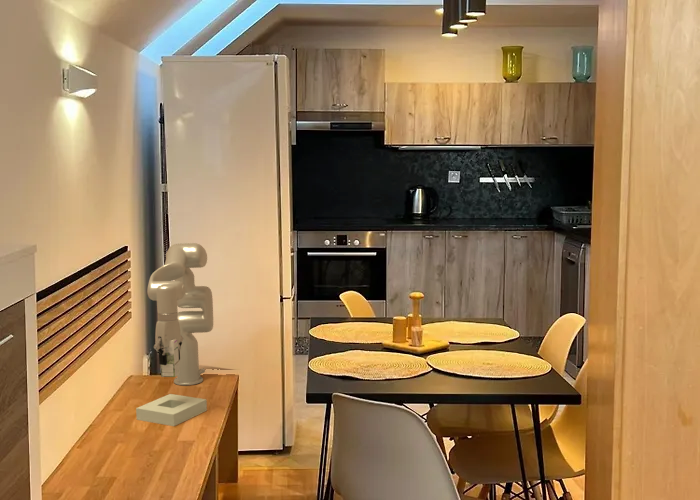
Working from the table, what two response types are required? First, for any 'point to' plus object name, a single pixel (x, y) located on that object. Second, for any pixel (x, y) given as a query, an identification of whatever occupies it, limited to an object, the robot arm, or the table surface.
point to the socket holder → (171, 409)
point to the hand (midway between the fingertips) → (169, 361)
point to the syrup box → (171, 360)
